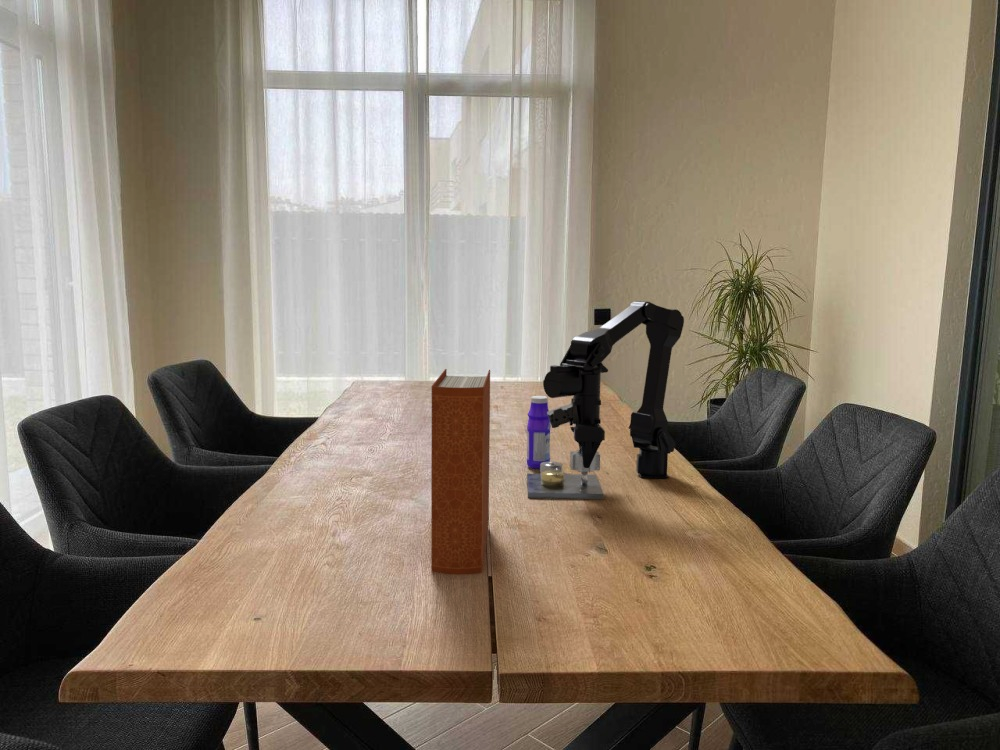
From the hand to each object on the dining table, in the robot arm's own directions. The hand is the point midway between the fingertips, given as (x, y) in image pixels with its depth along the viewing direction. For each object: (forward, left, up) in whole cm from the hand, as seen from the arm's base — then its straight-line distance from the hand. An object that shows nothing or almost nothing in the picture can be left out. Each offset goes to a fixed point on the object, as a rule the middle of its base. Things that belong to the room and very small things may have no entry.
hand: (585, 464), depth 175 cm
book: (+25, +39, -6) cm, 47 cm away
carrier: (+5, -1, -6) cm, 8 cm away
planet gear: (0, 0, -1) cm, 1 cm away
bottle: (+10, -21, -6) cm, 24 cm away
